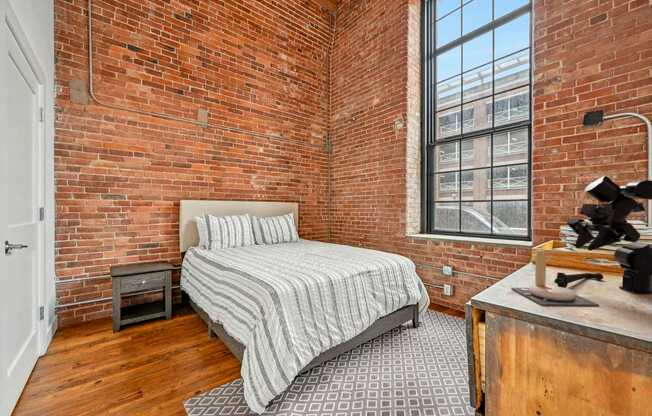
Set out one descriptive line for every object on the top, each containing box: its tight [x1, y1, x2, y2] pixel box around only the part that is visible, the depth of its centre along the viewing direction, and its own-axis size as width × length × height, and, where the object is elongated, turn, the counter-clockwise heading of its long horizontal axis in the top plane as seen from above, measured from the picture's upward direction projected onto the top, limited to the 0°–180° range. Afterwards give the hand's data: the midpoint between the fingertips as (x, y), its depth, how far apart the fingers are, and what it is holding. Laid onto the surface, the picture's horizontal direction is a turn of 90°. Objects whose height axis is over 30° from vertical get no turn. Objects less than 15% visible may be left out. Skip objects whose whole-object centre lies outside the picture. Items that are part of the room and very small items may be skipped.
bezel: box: [510, 287, 600, 307], centre depth 89 cm, size 15×15×1 cm
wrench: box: [553, 272, 604, 288], centre depth 100 cm, size 5×5×30 cm
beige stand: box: [528, 249, 576, 301], centre depth 89 cm, size 11×11×12 cm
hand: (582, 248), depth 93 cm, fingers open, 4 cm apart
